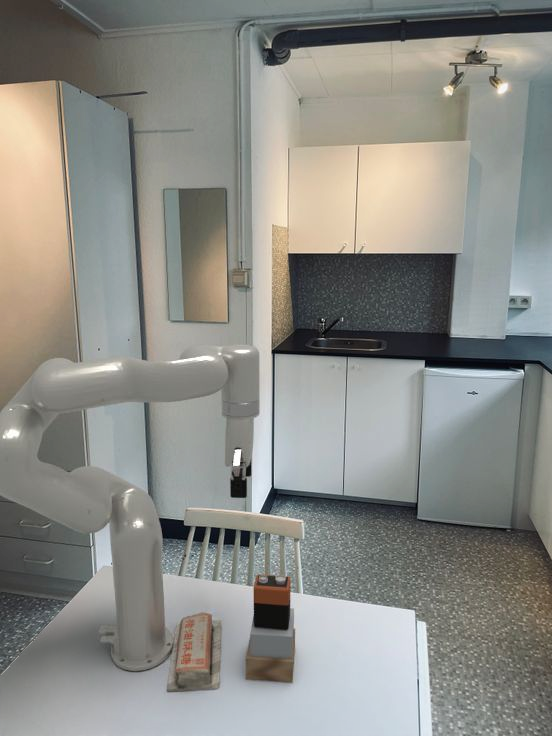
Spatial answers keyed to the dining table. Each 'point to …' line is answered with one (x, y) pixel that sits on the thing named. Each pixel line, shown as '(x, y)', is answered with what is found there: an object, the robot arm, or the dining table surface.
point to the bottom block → (270, 667)
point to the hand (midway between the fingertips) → (241, 486)
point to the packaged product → (196, 654)
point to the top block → (272, 641)
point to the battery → (272, 601)
